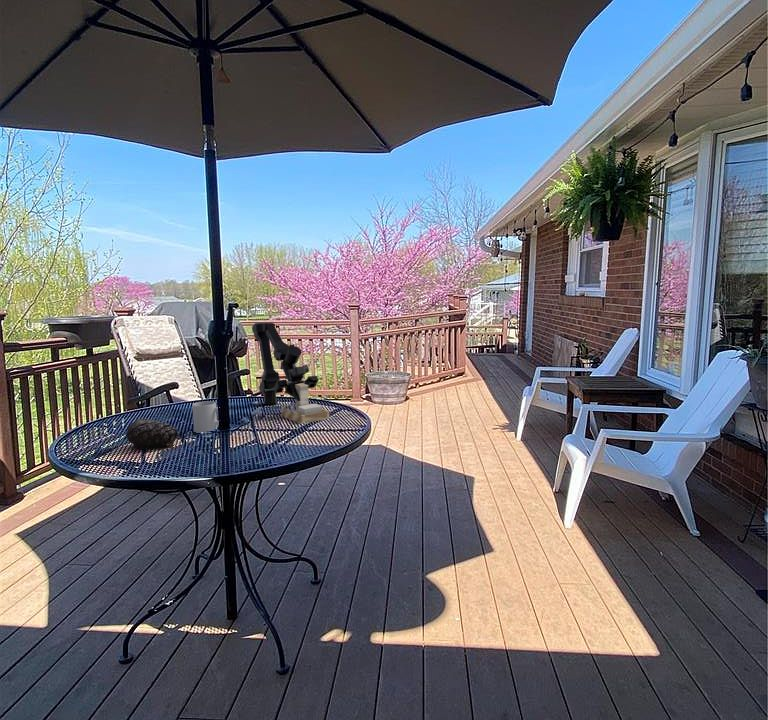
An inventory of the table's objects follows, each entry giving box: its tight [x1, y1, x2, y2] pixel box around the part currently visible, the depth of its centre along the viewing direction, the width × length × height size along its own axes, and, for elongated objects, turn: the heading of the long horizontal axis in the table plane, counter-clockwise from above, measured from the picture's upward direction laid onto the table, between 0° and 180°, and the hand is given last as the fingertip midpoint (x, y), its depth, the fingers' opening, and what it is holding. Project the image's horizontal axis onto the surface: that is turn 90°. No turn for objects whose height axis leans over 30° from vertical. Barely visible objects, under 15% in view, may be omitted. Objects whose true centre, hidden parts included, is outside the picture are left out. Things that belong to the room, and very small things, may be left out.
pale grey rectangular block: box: [295, 383, 310, 412], centre depth 201 cm, size 5×4×13 cm
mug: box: [191, 400, 220, 433], centre depth 183 cm, size 12×8×11 cm
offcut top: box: [298, 403, 323, 415], centre depth 196 cm, size 6×8×2 cm
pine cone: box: [125, 418, 180, 450], centre depth 167 cm, size 10×18×10 cm, turn 93°
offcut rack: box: [279, 403, 332, 425], centre depth 200 cm, size 20×14×4 cm
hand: (303, 400), depth 200 cm, fingers closed on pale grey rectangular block, 3 cm apart
